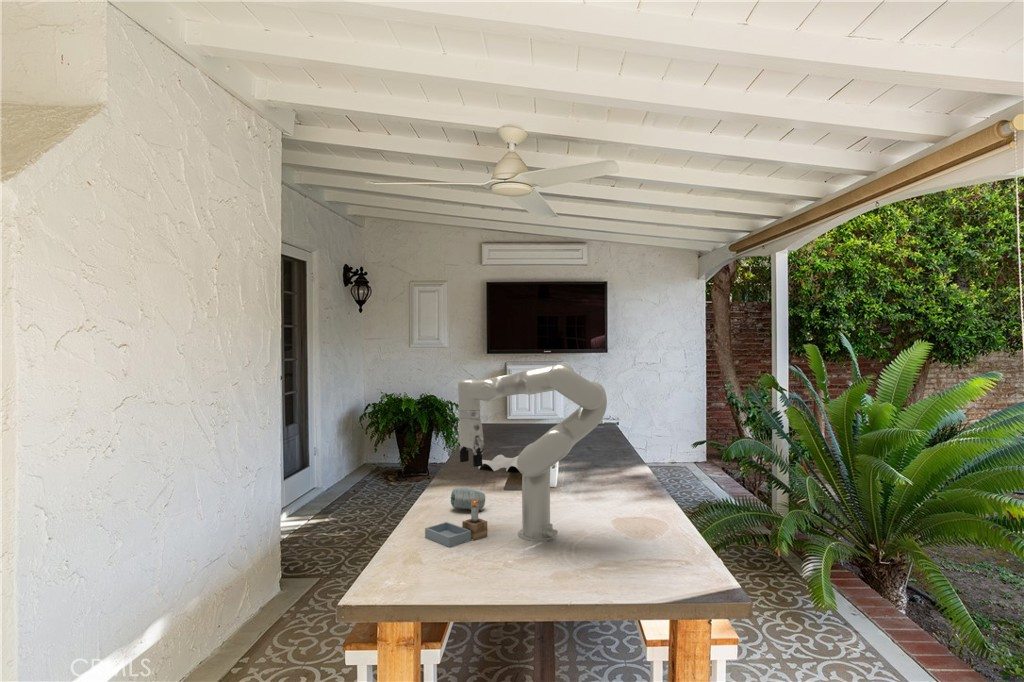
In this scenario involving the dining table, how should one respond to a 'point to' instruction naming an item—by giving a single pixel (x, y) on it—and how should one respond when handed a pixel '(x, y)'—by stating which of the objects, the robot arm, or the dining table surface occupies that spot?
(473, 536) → the brown wooden socket block
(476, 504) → the lock pin
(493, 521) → the dining table surface
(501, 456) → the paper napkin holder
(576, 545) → the dining table surface
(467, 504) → the spool
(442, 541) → the tray
